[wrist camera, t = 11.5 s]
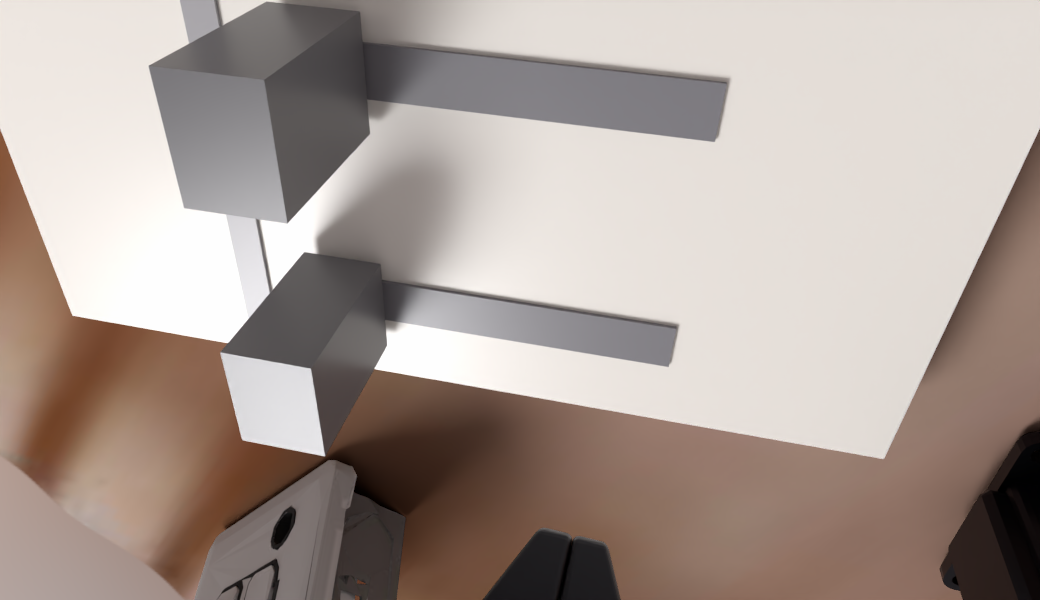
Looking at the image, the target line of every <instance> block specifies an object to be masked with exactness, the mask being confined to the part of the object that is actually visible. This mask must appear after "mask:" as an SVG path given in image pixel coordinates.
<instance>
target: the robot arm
mask: <svg viewBox="0 0 1040 600" xmlns="http://www.w3.org/2000/svg"><path fill="white" fill-rule="evenodd" d="M1037 450H1040V432H1032V433H1028V434H1026V435H1024V436H1022V437H1020V439H1019V440H1018V441H1017V442H1016V443H1015V445H1014V447H1013V448H1012V450H1011V451H1010V453H1009V455H1008V456H1007V458H1006V460H1005V461H1004V463H1003V465H1002V466H1001V468H1000V469H999V471H998V473H997V474H996V476H995V478H994V479H993V481H992V483H991V484H990V486H989V487H988V489H987V490H986V491H985V492H984V493H983V494H981V495H980V496H979V497H978V499H977V501H976V502H975V504H974V506H973V507H972V509H971V511H970V512H969V514H968V516H967V517H966V519H965V520H964V522H963V524H962V525H961V527H960V529H959V530H958V532H957V534H956V535H955V537H954V539H953V540H952V542H951V544H950V545H949V553H948V555H947V556H946V558H945V559H944V561H943V563H942V564H941V567H940V572H941V576H942V580H943V582H944V584H945V585H946V586H947V587H949V588H951V589H954V590H959V591H961V595H962V598H963V600H1040V451H1039V452H1034V451H1037ZM483 600H621V599H620V595H619V591H618V586H617V582H616V578H615V574H614V570H613V565H612V561H611V557H610V553H609V549H608V547H607V545H606V544H605V543H604V542H602V541H598V540H594V539H590V538H585V537H581V536H577V537H575V538H574V539H573V541H572V537H571V536H570V535H569V534H568V533H564V532H560V531H556V530H552V529H548V528H541V529H539V530H538V531H537V532H536V533H535V534H534V535H533V537H532V538H531V539H530V540H529V542H528V543H527V544H526V545H525V547H524V548H523V549H522V550H521V552H520V553H519V554H518V556H517V557H516V558H515V559H514V561H513V562H512V563H511V564H510V566H509V567H508V568H507V570H506V571H505V572H504V573H503V575H502V576H501V577H500V578H499V580H498V581H497V582H496V583H495V585H494V586H493V587H492V589H491V590H490V591H489V592H488V594H487V595H486V596H485V597H484V599H483Z"/></svg>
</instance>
